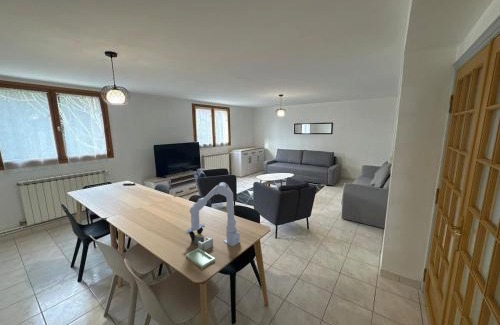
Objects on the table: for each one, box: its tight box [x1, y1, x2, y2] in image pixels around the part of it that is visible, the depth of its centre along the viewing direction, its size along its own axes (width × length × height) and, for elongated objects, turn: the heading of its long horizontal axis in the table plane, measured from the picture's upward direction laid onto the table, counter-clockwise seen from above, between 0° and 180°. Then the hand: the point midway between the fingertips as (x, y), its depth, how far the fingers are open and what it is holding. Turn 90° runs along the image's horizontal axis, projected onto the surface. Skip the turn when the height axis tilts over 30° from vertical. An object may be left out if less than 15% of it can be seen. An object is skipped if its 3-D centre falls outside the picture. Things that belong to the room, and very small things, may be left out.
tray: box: [185, 248, 216, 269], centre depth 125 cm, size 17×10×2 cm, turn 49°
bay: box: [197, 236, 214, 252], centre depth 138 cm, size 6×8×6 cm
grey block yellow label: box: [191, 231, 205, 246], centre depth 144 cm, size 9×5×6 cm, turn 49°
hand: (195, 239), depth 145 cm, fingers closed on grey block yellow label, 5 cm apart
